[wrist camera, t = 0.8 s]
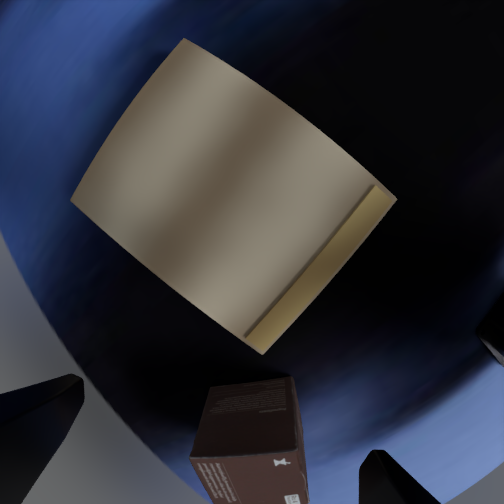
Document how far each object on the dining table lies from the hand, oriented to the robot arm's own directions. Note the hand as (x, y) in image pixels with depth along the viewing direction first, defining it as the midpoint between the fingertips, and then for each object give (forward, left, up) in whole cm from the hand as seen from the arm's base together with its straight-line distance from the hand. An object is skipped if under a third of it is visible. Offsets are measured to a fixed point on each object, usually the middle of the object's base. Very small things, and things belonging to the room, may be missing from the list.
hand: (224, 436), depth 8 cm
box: (-6, +7, -12) cm, 15 cm away
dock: (+5, -4, -12) cm, 14 cm away
